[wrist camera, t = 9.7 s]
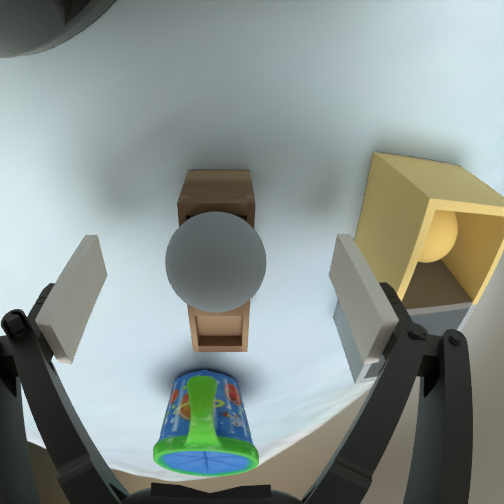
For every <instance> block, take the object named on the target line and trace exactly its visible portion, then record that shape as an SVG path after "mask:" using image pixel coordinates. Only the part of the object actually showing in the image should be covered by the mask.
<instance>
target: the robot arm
mask: <svg viewBox="0 0 504 504" xmlns="http://www.w3.org/2000/svg"><path fill="white" fill-rule="evenodd" d="M115 1H116V0H0V58H9V57H16V56H24V55H31V54H36V53H39V52H43V51H46V50H48V49H51V48H53V47H55V46H57V45H60V44H62V43H63V42H65V41H67V40H69V39H70V38H72V37H74V36H75V35H77V34H78V33H80V32H81V31H83V30H84V29H85V28H87V27H88V26H89V25H90V24H92V23H93V22H94V21H95V20H97V19H98V18H99V17H100V16H101V15H102V14H103V13H104V12H105V11H106V10H107V9H108V8H109V7H110V6H111V5H112V4H113V3H114V2H115ZM329 276H330V279H331V281H332V284H333V286H334V289H335V291H336V294H337V296H338V299H339V301H340V304H341V306H342V309H343V311H344V314H345V316H346V319H347V322H348V324H349V327H350V329H351V332H352V335H353V337H354V340H355V343H356V345H357V348H358V351H359V353H360V356H361V359H362V362H363V364H369V363H377V362H379V360H380V358H381V356H382V354H383V356H384V358H385V363H384V364H383V366H382V368H381V370H380V372H379V373H378V377H377V379H376V381H375V383H374V385H373V387H372V389H371V390H370V392H369V394H368V396H367V398H366V400H365V402H364V404H363V406H362V407H361V409H360V411H359V413H358V415H357V416H356V418H355V420H354V422H353V423H352V425H351V427H350V429H349V430H348V432H347V434H346V435H345V437H344V439H343V440H342V442H341V443H340V445H339V447H338V448H337V450H336V452H335V453H334V455H333V456H332V458H331V459H330V461H329V462H328V464H327V465H326V467H325V469H324V470H323V471H322V473H321V474H320V476H319V477H318V478H317V480H316V481H315V483H314V484H313V485H312V486H311V488H310V489H309V490H308V492H307V493H306V494H305V496H304V497H303V498H302V500H301V501H300V500H299V499H297V498H296V497H294V496H291V495H290V494H287V493H284V492H281V491H277V490H271V486H270V485H255V486H240V487H235V488H231V489H227V490H223V491H219V492H214V493H207V492H203V491H199V490H196V489H192V488H188V487H185V486H181V485H172V484H161V483H151V488H147V489H143V490H140V491H137V492H135V493H133V494H131V495H130V494H129V493H128V491H127V490H126V489H125V488H124V487H123V485H122V484H121V483H120V482H119V481H118V480H117V478H116V477H115V476H114V474H113V473H112V471H111V470H110V468H109V467H108V465H107V464H106V462H105V461H104V459H103V458H102V456H101V454H100V453H99V451H98V450H97V448H96V446H95V445H94V443H93V441H92V440H91V438H90V436H89V435H88V433H87V431H86V429H85V428H84V426H83V424H82V422H81V420H80V418H79V417H78V415H77V413H76V411H75V409H74V407H73V405H72V403H71V401H70V399H69V397H68V395H67V393H66V391H65V389H64V387H63V385H62V383H61V380H60V378H59V376H58V374H57V372H56V369H55V367H54V365H53V363H52V361H51V359H52V357H53V354H54V356H55V357H56V359H57V361H58V362H61V363H68V364H72V362H73V359H74V356H75V353H76V351H77V348H78V345H79V343H80V340H81V337H82V335H83V332H84V329H85V327H86V324H87V322H88V319H89V317H90V314H91V312H92V309H93V307H94V305H95V302H96V300H97V298H98V295H99V293H100V291H101V288H102V286H103V284H104V281H105V279H106V277H107V272H106V268H105V264H104V260H103V256H102V252H101V248H100V244H99V239H98V235H85V237H84V238H83V240H82V241H81V243H80V244H79V246H78V247H77V249H76V250H75V252H74V254H73V255H72V257H71V258H70V260H69V262H68V263H67V265H66V266H65V268H64V270H63V271H62V273H61V275H60V276H59V278H58V280H57V281H56V283H55V284H54V283H50V284H49V285H48V286H46V287H45V288H44V289H43V290H42V292H41V294H40V295H39V298H38V299H37V301H36V302H35V304H34V306H33V308H32V309H31V311H30V313H29V315H28V317H26V315H25V313H24V312H23V311H22V310H20V309H15V310H12V311H10V312H8V313H7V314H6V315H5V316H4V317H3V318H2V321H1V327H2V328H3V330H4V332H5V333H6V335H5V336H0V504H40V500H39V497H38V493H37V489H36V485H35V481H34V476H33V472H32V467H31V462H30V457H29V452H28V445H27V439H26V432H25V425H24V417H23V407H22V396H21V384H22V387H23V390H24V393H25V396H26V399H27V402H28V404H29V407H30V410H31V412H32V415H33V418H34V420H35V423H36V425H37V428H38V430H39V432H40V435H41V437H42V439H43V441H44V444H45V446H46V448H47V450H48V452H49V454H50V456H51V459H52V460H53V463H54V464H55V466H56V468H57V471H58V474H57V480H58V482H59V484H60V486H61V488H62V490H63V491H64V493H65V495H66V497H67V498H68V500H69V502H70V504H360V503H361V500H362V499H363V498H364V496H365V494H366V493H367V491H368V489H369V487H370V485H371V482H372V475H373V473H374V471H375V469H376V467H377V465H378V463H379V461H380V459H381V457H382V455H383V453H384V451H385V449H386V447H387V445H388V443H389V441H390V439H391V437H392V434H393V432H394V430H395V428H396V426H397V424H398V421H399V419H400V417H401V414H402V412H403V409H404V407H405V405H406V402H407V400H408V397H409V394H410V392H411V389H412V387H413V384H414V381H415V378H416V376H420V393H419V405H418V417H417V425H416V433H415V442H414V448H413V455H412V462H411V467H410V473H409V479H408V483H407V489H406V493H405V498H404V502H403V504H468V499H469V490H470V480H471V468H472V448H473V407H472V386H471V373H470V363H469V353H468V345H467V340H466V338H465V336H464V335H463V334H462V333H461V332H460V331H458V330H455V329H448V330H446V331H445V332H444V333H443V335H442V336H438V335H431V334H428V333H427V331H426V329H425V328H424V327H422V326H421V325H419V324H416V323H413V321H412V319H411V317H410V316H409V314H408V312H407V310H406V309H405V307H404V305H403V303H402V302H401V300H400V298H399V297H398V295H397V293H396V291H395V290H394V288H393V287H391V286H390V285H389V284H388V283H387V282H381V283H378V281H377V279H376V277H375V275H374V274H373V272H372V270H371V269H370V267H369V265H368V263H367V262H366V260H365V258H364V257H363V255H362V253H361V252H360V250H359V248H358V247H357V245H356V243H355V242H354V240H353V238H352V237H351V235H343V234H337V239H336V244H335V249H334V253H333V258H332V263H331V267H330V272H329Z"/></svg>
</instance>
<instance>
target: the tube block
mask: <svg viewBox="0 0 504 504" xmlns="http://www.w3.org/2000/svg"><path fill="white" fill-rule="evenodd" d="M435 210H445V211H454V213H455V215H456V218H457V224H458V233H457V238H456V241H455V244H454V245H453V247H452V249H451V250H450V251H449V253H448V254H447V255H445V256H444V257H443V258H441V259H439V260H437V261H434V262H428V263H424V262H418V259H419V257H420V254H421V251H422V249H423V246H424V243H425V240H426V237H427V234H428V231H429V228H430V225H431V222H432V219H433V216H434V213H435ZM354 242H355V243H356V245H357V247H358V248H359V250H360V252H361V253H362V255H363V257H364V258H365V260H366V262H367V263H368V265H369V267H370V269H371V270H372V272H373V274H374V275H375V277H376V279H377V281H378V283H381V282H387V283H388V284H389V285H390V286H391V287H393V288H394V290H395V291H396V293H397V295H398V297H399V298H400V300H401V302H402V303H403V305H404V307H405V309H406V310H407V312H408V314H409V316H410V317H411V319H412V321H413V323H416V324H419V325H421V326H422V327H424V328H425V329H426V331H427V333H428V334H431V335H438V336H442V335H443V333H444V332H445V331H446V330H448V329H455V330H458V331H461V330H462V328H463V326H464V325H465V323H466V321H467V320H468V318H469V316H470V315H471V313H472V311H473V310H474V308H475V306H476V304H477V302H478V301H479V299H480V297H481V295H482V293H483V291H484V290H485V288H486V286H487V284H488V282H489V280H490V278H491V276H492V274H493V272H494V270H495V268H496V265H497V263H498V261H499V259H500V257H501V255H502V253H503V250H504V197H503V196H502V195H500V194H499V193H498V192H496V191H495V190H494V189H492V188H491V187H490V186H488V185H487V184H485V183H484V182H483V181H481V180H480V179H478V178H477V177H476V176H474V175H473V174H471V173H470V172H468V171H467V170H465V169H464V168H462V167H461V166H459V165H455V164H450V163H445V162H439V161H434V160H428V159H422V158H416V157H410V156H403V155H396V154H389V153H381V152H374V151H373V155H372V160H371V166H370V171H369V176H368V181H367V186H366V191H365V196H364V201H363V205H362V210H361V214H360V219H359V223H358V227H357V232H356V236H355V240H354ZM333 318H334V321H335V324H336V327H337V330H338V333H339V336H340V339H341V342H342V345H343V348H344V351H345V355H346V358H347V361H348V364H349V367H350V370H351V373H352V377H353V380H354V383H362V382H369V381H375V380H376V379H377V377H378V373H379V372H380V370H381V368H382V366H383V364H384V363H385V358H384V356H383V354H382V356H381V358H380V360H379V362H377V363H369V364H363V362H362V359H361V356H360V353H359V351H358V348H357V345H356V343H355V340H354V337H353V335H352V332H351V329H350V327H349V324H348V322H347V319H346V316H345V314H344V311H343V309H342V306H341V304H340V301H339V300H338V303H337V307H336V310H335V313H334V317H333Z"/></svg>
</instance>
